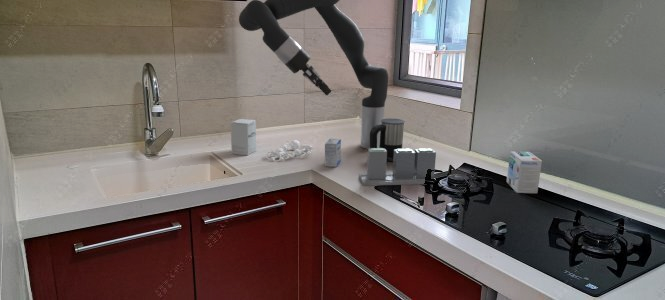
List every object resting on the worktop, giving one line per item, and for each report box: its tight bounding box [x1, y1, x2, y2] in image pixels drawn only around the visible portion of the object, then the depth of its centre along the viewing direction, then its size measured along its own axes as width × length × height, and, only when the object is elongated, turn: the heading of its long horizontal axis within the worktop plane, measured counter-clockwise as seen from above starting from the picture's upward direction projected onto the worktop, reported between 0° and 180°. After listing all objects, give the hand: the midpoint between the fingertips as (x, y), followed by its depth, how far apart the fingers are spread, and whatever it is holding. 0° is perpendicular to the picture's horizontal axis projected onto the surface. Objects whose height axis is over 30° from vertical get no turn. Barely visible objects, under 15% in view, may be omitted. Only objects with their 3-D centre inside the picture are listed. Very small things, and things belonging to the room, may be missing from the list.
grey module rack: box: [358, 148, 437, 187], centre depth 157 cm, size 8×24×11 cm, turn 97°
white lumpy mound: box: [265, 139, 313, 163], centre depth 183 cm, size 19×14×4 cm
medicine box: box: [324, 138, 342, 168], centre depth 174 cm, size 8×4×9 cm, turn 168°
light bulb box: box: [506, 150, 543, 194], centre depth 152 cm, size 11×7×11 cm, turn 178°
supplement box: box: [230, 118, 257, 156], centre depth 186 cm, size 7×7×13 cm
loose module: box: [366, 148, 388, 179], centre depth 155 cm, size 4×6×10 cm, turn 96°
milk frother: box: [370, 118, 406, 162], centre depth 177 cm, size 14×16×15 cm
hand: (327, 91), depth 154 cm, fingers open, 8 cm apart
